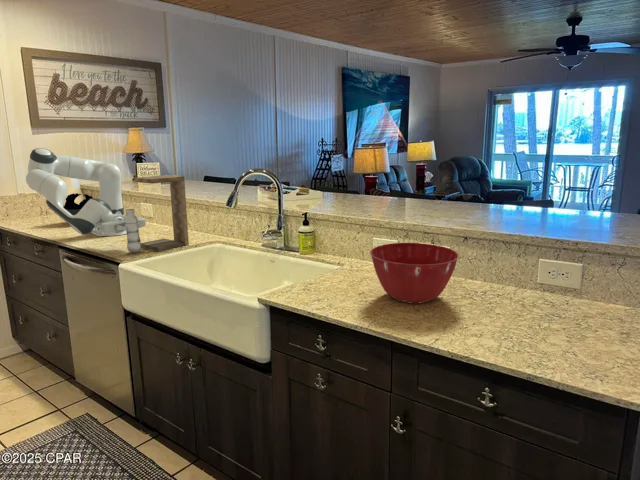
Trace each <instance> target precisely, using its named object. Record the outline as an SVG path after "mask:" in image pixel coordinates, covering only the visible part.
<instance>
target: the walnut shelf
mask: <svg viewBox="0 0 640 480" xmlns="http://www.w3.org/2000/svg"><path fill="white" fill-rule="evenodd" d="M133 181H134V183H139V184H140V183H142V184H150V185H151V184H152V185H153V184H162V183H169V189H170V201H171V202H170V203H171V205H170V206H171V215H172V216H171V217H172V218H171V219H172V233H173V240H172V239H169V238H168V239H167V238H160V239H155V240H149V241H145V242H141V244H142V249H145V250H149V251H154V252H158V253H161V252H165V251H169V250H173V249H174V248H175V249H179V248H183V246H184V247H188V246H189V244H190V243H189V241H190V239H189V228H188V215H187V214H188V213H187V212H188V211H187V200H186V199H187V198H186V197H187V196H186V183H185V176H183V175H172V174H171V175H170V174H165V175H164V174H163V175H153V176H152V175H151V176H139V177H137V176H136V177H133ZM178 247H179V248H178Z"/></svg>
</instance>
